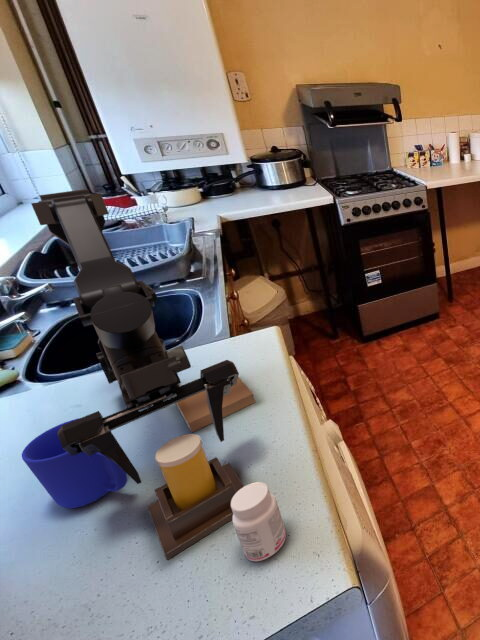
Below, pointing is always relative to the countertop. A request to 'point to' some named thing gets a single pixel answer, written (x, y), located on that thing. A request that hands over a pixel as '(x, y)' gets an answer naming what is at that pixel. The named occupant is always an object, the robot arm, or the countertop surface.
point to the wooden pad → (198, 409)
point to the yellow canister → (186, 470)
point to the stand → (194, 512)
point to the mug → (71, 471)
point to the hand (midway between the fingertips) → (183, 460)
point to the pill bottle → (257, 521)
